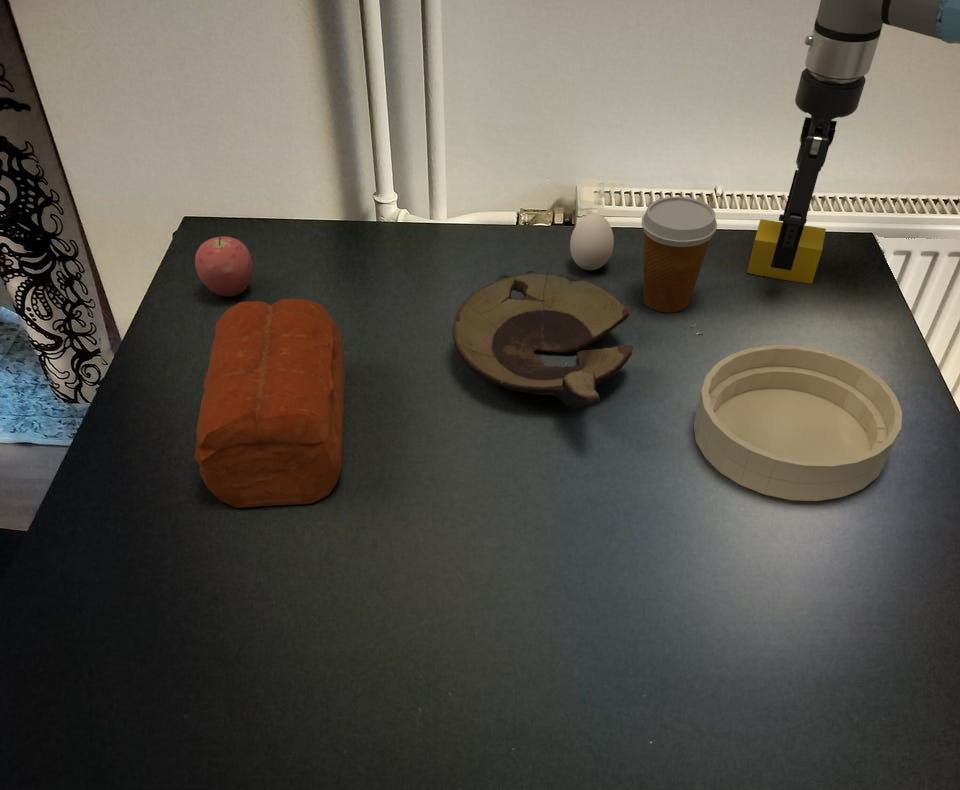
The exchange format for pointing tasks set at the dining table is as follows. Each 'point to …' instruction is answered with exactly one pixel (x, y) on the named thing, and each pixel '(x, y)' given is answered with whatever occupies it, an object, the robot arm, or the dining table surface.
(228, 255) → the apple
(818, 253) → the sponge
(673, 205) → the disposable coffee cup
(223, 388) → the bread
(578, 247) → the egg
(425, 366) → the dining table surface
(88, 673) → the dining table surface
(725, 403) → the bowl
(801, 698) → the dining table surface
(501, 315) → the broken ceramic plate
